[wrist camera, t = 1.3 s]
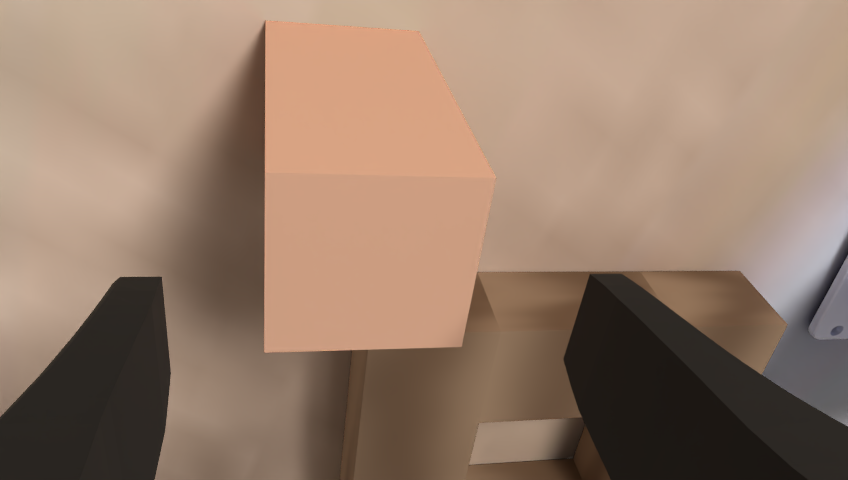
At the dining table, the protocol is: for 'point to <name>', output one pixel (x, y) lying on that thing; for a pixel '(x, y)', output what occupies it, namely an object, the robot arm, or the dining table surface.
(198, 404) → the dining table surface
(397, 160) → the peg
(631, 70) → the dining table surface
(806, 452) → the robot arm
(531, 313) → the slot block
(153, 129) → the dining table surface
